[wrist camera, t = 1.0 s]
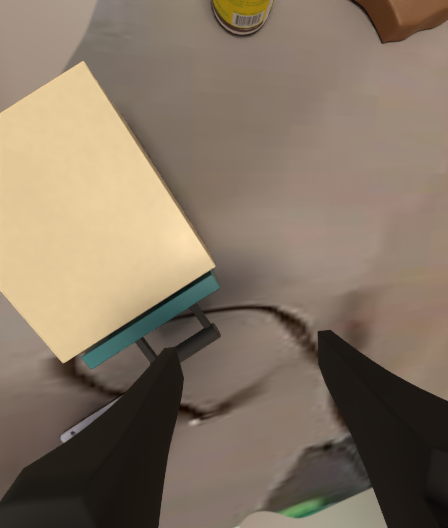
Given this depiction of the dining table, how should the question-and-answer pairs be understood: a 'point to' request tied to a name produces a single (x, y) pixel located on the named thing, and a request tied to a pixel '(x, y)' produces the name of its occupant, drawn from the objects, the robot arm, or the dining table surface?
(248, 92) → the dining table surface
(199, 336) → the drawer
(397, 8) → the plant
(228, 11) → the supplement bottle
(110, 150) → the beige box
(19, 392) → the dining table surface
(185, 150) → the dining table surface
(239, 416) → the dining table surface
